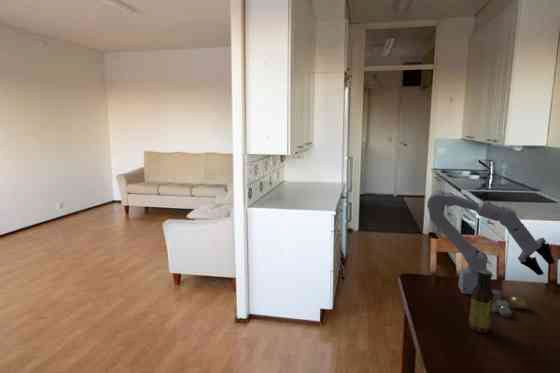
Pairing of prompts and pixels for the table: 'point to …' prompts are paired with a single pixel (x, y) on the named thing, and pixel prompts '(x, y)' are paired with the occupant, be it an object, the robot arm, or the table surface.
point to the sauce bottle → (481, 303)
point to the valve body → (500, 304)
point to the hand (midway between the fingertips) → (546, 269)
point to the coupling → (518, 302)
